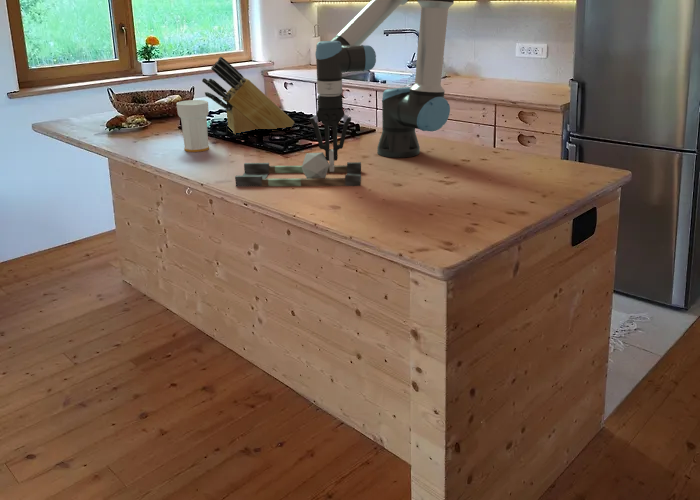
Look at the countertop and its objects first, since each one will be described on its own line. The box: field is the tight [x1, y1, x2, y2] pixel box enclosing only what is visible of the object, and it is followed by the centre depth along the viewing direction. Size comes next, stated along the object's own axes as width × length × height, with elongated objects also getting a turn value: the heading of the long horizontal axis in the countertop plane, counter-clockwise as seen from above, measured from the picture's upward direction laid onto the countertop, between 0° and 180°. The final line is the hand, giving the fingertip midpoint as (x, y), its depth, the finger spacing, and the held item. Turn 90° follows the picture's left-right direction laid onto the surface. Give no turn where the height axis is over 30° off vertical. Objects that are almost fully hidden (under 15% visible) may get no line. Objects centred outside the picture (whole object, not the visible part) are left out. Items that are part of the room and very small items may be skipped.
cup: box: [176, 99, 210, 153], centre depth 256 cm, size 11×11×17 cm
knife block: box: [201, 56, 295, 135], centre depth 283 cm, size 11×35×31 cm, turn 113°
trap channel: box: [234, 161, 362, 187], centre depth 219 cm, size 38×17×3 cm, turn 88°
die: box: [301, 152, 329, 178], centre depth 217 cm, size 8×9×10 cm
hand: (331, 170), depth 218 cm, fingers closed
